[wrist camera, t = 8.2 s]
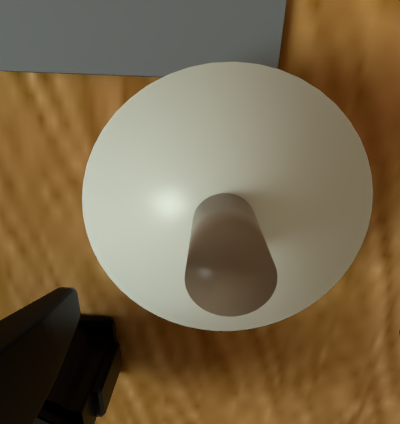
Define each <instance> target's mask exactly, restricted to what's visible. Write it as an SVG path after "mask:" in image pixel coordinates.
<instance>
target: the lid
mask: <svg viewBox="0 0 400 424" xmlns="http://www.w3.org/2000/svg"><path fill="white" fill-rule="evenodd" d="M372 202H373V185H372V174H371V170H370V165H369V161H368V157H367V154H366V151H365V149H364V146H363V144H362V141H361V139H360V137H359V135H358V134H357V132H356V130H355V129H354V127H353V125H352V124H351V122H350V120H349V119H348V118H347V117H346V116H345V114H344V113H343V112H342V111H341V110H340V108H339V107H338V106H337V105H336V104H335V103H334V102H333V101H332V100H331V99H329V98H328V97H327V96H326V95H325V94H324V93H322V92H321V91H320V90H319V89H317V88H315V87H314V86H312V85H311V84H309V83H307V82H306V81H304V80H303V79H301V78H299V77H296V76H294V75H292V74H289V73H287V72H285V71H282V70H280V69H276V68H272V67H268V66H264V65H260V64H254V63H244V62H215V63H207V64H202V65H197V66H192V67H188V68H185V69H182V70H180V71H177V72H174V73H171V74H168V75H166V76H164V77H162V78H160V79H159V80H157V81H155V82H153V83H151V84H149V85H147V86H146V87H145V88H143V89H142V90H141V91H139V92H138V93H136V94H135V95H134V96H132V97H131V98H130V99H129V100H128V101H127V102H126V103H125V104H124V105H123V106H122V107H121V108H120V109H119V110H118V111H117V112H116V113H115V114H114V115H113V117H112V118H111V119H110V120H109V122H108V123H107V124H106V126H105V127H104V128H103V130H102V132H101V134H100V136H99V137H98V139H97V141H96V143H95V145H94V147H93V149H92V152H91V155H90V157H89V160H88V163H87V166H86V171H85V176H84V181H83V192H82V207H83V218H84V223H85V228H86V232H87V236H88V238H89V241H90V244H91V247H92V249H93V251H94V253H95V255H96V257H97V259H98V261H99V263H100V265H101V266H102V268H103V269H104V270H105V272H106V273H107V275H108V276H109V278H110V279H111V280H112V281H113V282H114V283H115V284H116V285H117V287H118V288H119V289H120V290H121V291H122V292H124V293H125V294H126V295H127V296H128V297H129V298H130V299H131V300H133V301H134V302H136V303H137V304H138V305H140V306H141V307H143V308H144V309H146V310H148V311H150V312H151V313H153V314H155V315H157V316H159V317H161V318H164V319H166V320H168V321H171V322H174V323H177V324H180V325H183V326H187V327H192V328H197V329H202V330H212V331H237V330H247V329H252V328H257V327H262V326H266V325H269V324H272V323H275V322H279V321H281V320H283V319H286V318H288V317H290V316H293V315H295V314H296V313H298V312H300V311H302V310H304V309H305V308H307V307H309V306H310V305H312V304H313V303H314V302H316V301H317V300H319V299H320V298H321V297H322V296H324V295H325V294H326V293H327V292H328V291H329V290H330V289H331V288H333V287H334V285H335V284H336V283H337V282H338V281H339V280H340V279H341V278H342V276H343V275H344V274H345V273H346V271H347V270H348V268H349V267H350V266H351V264H352V263H353V261H354V260H355V258H356V256H357V254H358V252H359V250H360V248H361V246H362V244H363V241H364V238H365V236H366V233H367V230H368V227H369V222H370V217H371V213H372Z"/></svg>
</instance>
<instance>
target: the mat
mask: <svg viewBox="0 0 400 424" xmlns="http://www.w3.org/2000/svg"><path fill="white" fill-rule="evenodd" d="M285 8H286V0H0V71H10V72H36V73H62V74H89V75H115V76H141V77H164V76H166V75H168V74H171V73H174V72H177V71H180V70H182V69H185V68H188V67H192V66H197V65H202V64H207V63H215V62H244V63H254V64H260V65H264V66H268V67H272V68H276V69H278V63H279V55H280V47H281V39H282V32H283V24H284V16H285Z"/></svg>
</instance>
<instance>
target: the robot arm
mask: <svg viewBox="0 0 400 424" xmlns="http://www.w3.org/2000/svg"><path fill="white" fill-rule="evenodd" d="M107 324H108V325H107ZM399 333H400V332H399ZM121 366H122V363H121V353H120V344H119V343H118V342H117V341H116V332H115V323H114V321H113V320H112V319H111V318H105V317H87V316H80V306H79V300H78V294H77V291H76V289H74V288H67V287H60V288H58V289H56V290H54V291H52V292H50V293H49V294H47V295H45V296H43V297H41V298H40V299H38V300H36V301H34V302H32V303H31V304H29V305H27V306H25V307H24V308H22V309H20V310H18V311H16V312H15V313H13V314H11V315H9V316H7V317H6V318H4V319H2V320H0V424H94V423H95V420H96V417H102V416H103V415H104V414H105V413H106V410H107V408H108V405H109V402H110V399H111V396H112V393H113V390H114V387H115V384H116V381H117V378H118V376H119V372H120V369H121Z"/></svg>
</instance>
